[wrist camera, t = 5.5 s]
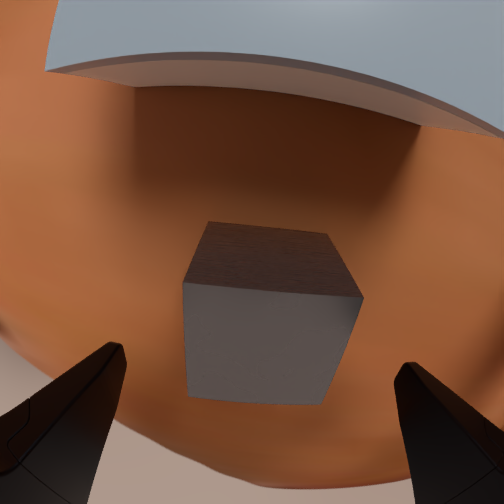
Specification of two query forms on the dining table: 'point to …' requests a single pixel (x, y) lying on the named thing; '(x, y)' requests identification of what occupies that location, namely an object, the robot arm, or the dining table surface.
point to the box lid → (306, 42)
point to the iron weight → (266, 315)
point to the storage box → (282, 87)
